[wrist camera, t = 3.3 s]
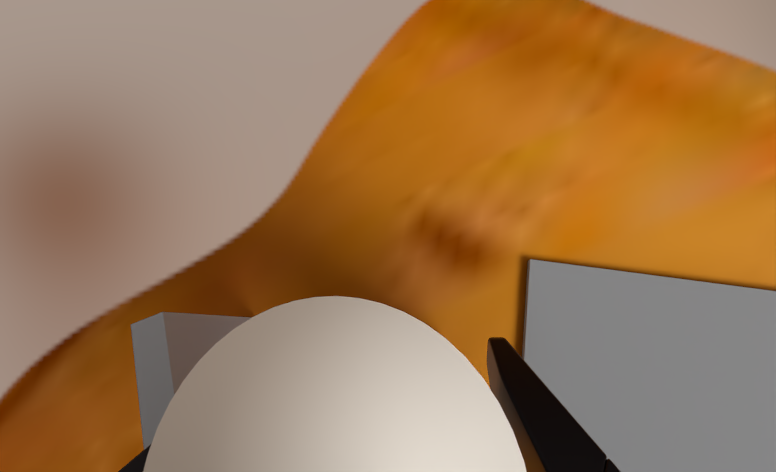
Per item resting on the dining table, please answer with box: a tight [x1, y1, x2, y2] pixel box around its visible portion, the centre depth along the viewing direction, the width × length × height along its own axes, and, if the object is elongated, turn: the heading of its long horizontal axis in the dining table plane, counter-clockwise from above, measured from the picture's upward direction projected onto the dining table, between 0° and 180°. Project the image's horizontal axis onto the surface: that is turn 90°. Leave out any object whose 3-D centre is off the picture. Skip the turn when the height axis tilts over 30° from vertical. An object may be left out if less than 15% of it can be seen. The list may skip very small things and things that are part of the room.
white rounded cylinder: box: [143, 296, 527, 472], centre depth 9 cm, size 5×5×12 cm
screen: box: [131, 312, 251, 449], centre depth 12 cm, size 10×1×6 cm, turn 20°
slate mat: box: [522, 259, 776, 472], centre depth 13 cm, size 12×12×1 cm
